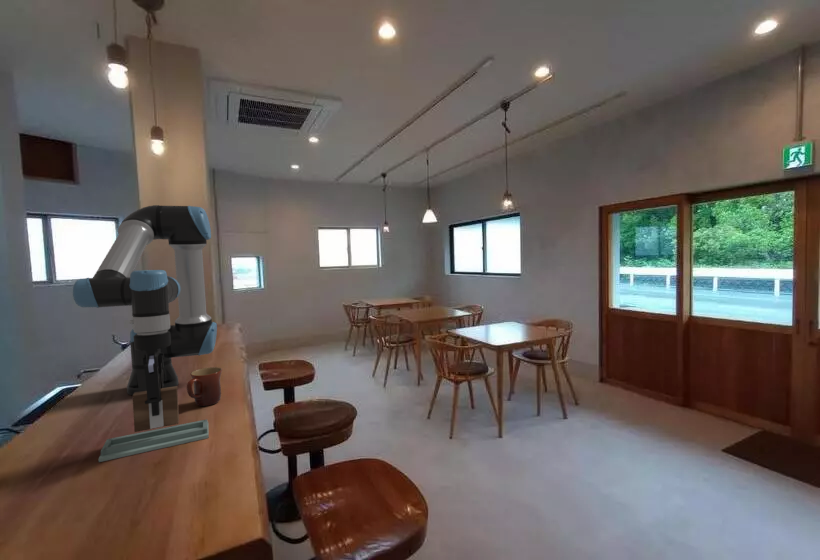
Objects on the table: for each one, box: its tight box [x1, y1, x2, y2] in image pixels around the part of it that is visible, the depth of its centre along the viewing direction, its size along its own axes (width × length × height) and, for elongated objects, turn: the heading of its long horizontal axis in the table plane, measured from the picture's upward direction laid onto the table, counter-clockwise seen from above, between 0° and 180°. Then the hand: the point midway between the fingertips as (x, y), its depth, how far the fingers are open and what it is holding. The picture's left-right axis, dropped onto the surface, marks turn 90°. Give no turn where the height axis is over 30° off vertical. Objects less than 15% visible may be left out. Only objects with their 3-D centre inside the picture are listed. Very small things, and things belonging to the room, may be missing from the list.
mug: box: [186, 366, 223, 407], centre depth 116 cm, size 12×9×10 cm
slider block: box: [132, 385, 180, 433], centre depth 93 cm, size 3×9×9 cm, turn 119°
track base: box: [98, 418, 210, 463], centre depth 93 cm, size 9×22×2 cm, turn 119°
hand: (157, 424), depth 93 cm, fingers closed on slider block, 3 cm apart
